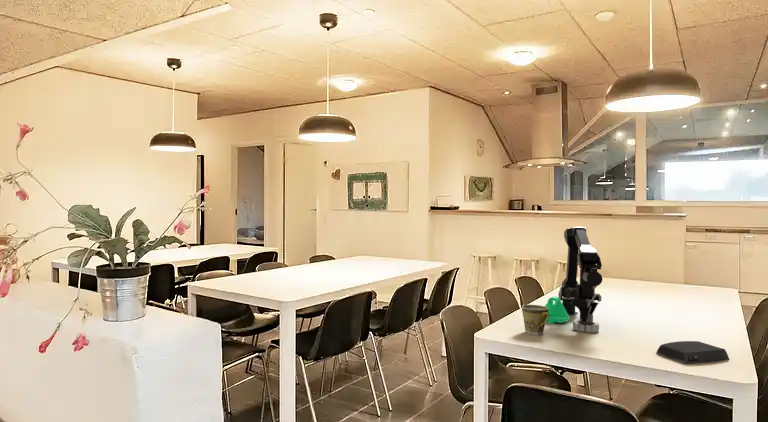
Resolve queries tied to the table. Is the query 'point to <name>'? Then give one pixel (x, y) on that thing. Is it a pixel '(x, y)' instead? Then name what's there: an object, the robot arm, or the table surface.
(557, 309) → the camera mount
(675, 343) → the external hard drive
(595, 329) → the grey piece
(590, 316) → the cap
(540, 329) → the ceramic cup
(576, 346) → the table surface
